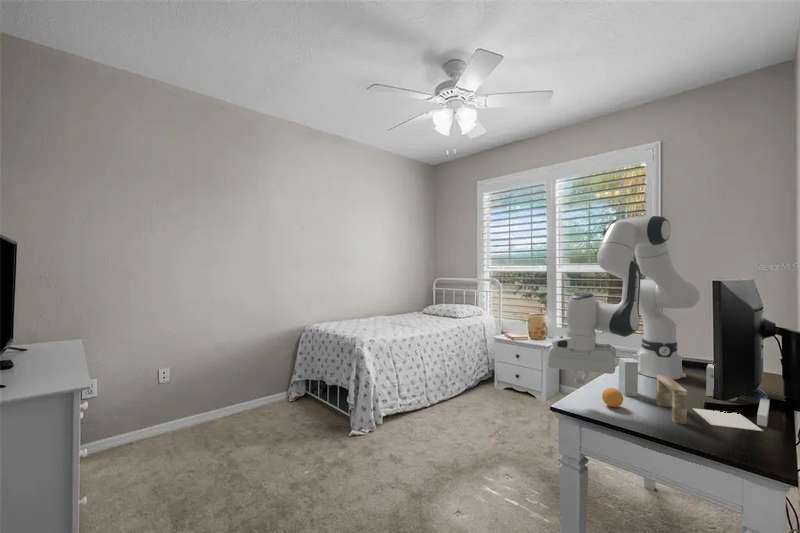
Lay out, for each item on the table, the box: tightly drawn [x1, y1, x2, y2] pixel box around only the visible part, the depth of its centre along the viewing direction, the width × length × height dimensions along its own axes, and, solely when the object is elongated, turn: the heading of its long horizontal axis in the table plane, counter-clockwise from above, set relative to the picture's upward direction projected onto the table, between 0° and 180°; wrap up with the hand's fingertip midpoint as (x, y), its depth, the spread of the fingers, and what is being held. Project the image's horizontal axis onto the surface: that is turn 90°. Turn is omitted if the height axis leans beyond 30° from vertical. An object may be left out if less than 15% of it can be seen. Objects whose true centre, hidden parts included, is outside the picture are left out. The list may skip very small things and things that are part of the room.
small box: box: [705, 363, 715, 397], centre depth 127 cm, size 8×6×10 cm
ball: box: [601, 387, 624, 408], centre depth 119 cm, size 6×6×6 cm
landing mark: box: [692, 407, 764, 432], centre depth 110 cm, size 12×12×1 cm
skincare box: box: [618, 357, 639, 397], centre depth 131 cm, size 6×4×12 cm
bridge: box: [655, 374, 688, 425], centre depth 114 cm, size 3×15×10 cm, turn 162°
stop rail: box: [756, 397, 770, 428], centre depth 112 cm, size 18×2×3 cm, turn 133°
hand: (579, 383), depth 122 cm, fingers closed
